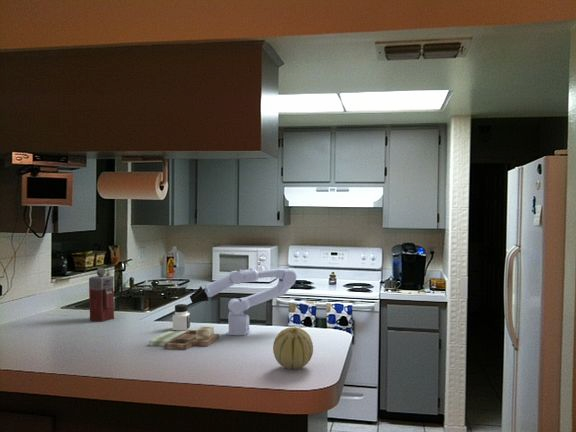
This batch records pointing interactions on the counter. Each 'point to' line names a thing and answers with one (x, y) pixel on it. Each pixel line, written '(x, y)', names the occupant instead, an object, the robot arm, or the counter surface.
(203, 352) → the counter surface
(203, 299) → the robot arm
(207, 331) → the birch block
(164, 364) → the counter surface
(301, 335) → the cantaloupe
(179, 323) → the medicine bottle
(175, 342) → the trap board
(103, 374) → the counter surface
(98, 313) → the red liquid decanter
